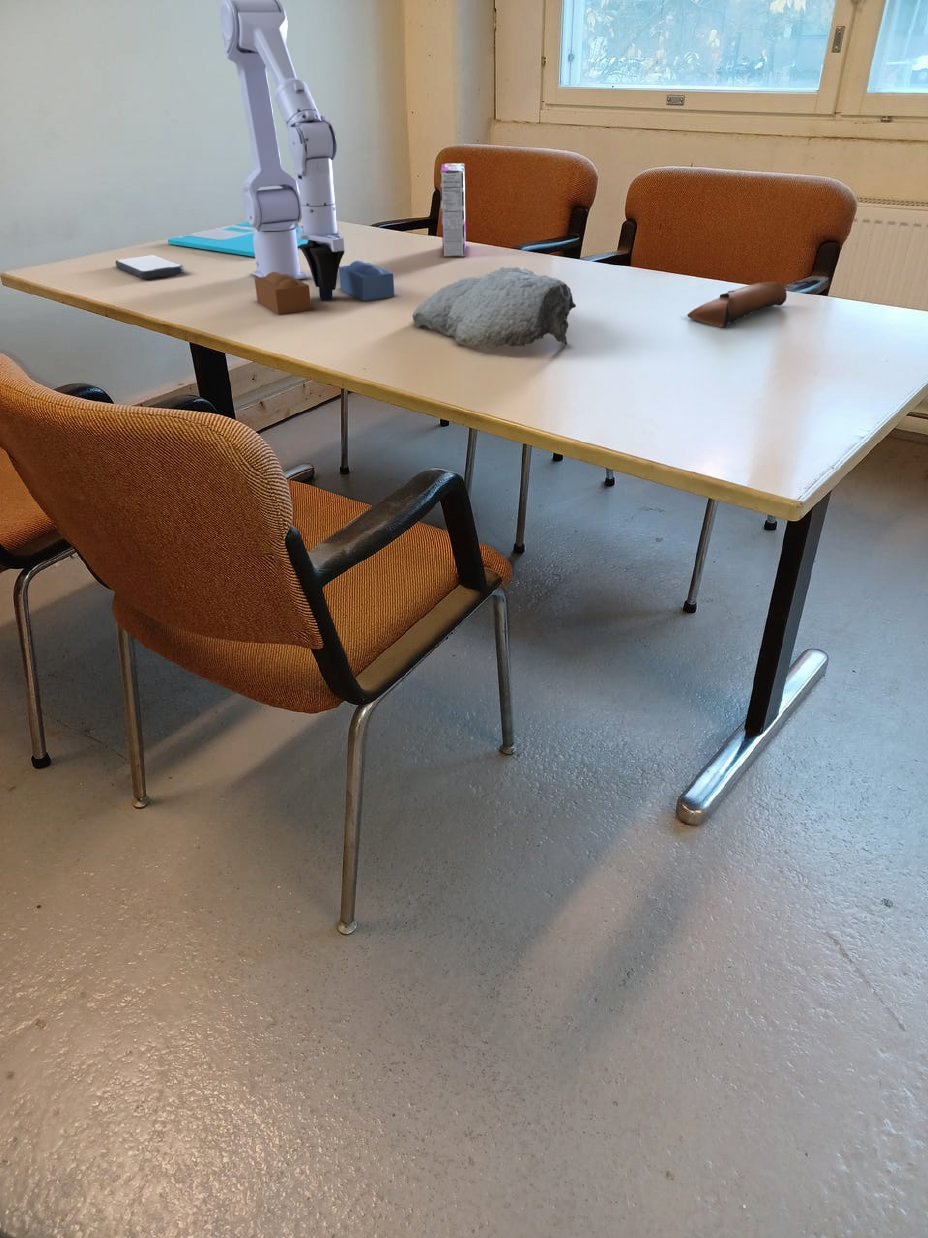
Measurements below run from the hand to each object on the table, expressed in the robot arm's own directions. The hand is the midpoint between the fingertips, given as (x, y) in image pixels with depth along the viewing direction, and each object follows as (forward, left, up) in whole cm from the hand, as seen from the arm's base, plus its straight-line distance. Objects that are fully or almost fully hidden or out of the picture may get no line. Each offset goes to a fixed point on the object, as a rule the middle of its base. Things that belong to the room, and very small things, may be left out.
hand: (325, 287), depth 155 cm
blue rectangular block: (0, +8, -2) cm, 8 cm away
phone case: (-40, -21, -2) cm, 45 cm away
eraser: (0, 0, -2) cm, 2 cm away
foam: (+33, +14, -2) cm, 36 cm away
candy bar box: (-22, +39, -2) cm, 45 cm away
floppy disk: (-57, +7, -2) cm, 58 cm away
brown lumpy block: (0, -8, -2) cm, 8 cm away
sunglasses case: (+46, +53, -2) cm, 71 cm away
